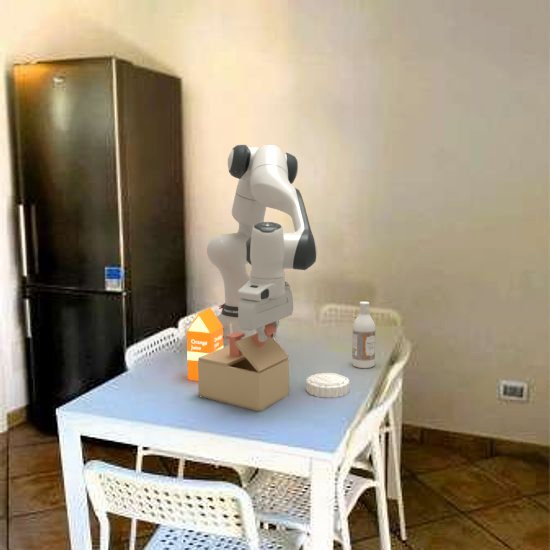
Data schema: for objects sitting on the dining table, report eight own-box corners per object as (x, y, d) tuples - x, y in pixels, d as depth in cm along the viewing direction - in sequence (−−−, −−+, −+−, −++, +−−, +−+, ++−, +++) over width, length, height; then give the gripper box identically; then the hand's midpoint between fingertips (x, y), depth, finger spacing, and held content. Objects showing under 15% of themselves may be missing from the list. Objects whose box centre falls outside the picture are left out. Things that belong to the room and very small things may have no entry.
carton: (198, 396, 165) (197, 360, 164) (230, 381, 177) (229, 348, 175) (259, 411, 154) (259, 373, 153) (289, 394, 166) (288, 359, 164)
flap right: (234, 343, 156) (247, 326, 153) (264, 331, 167) (277, 315, 164) (258, 372, 153) (272, 355, 150) (287, 358, 164) (301, 342, 161)
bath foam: (362, 370, 186) (363, 305, 183) (347, 364, 192) (348, 301, 188) (379, 366, 190) (380, 302, 186) (364, 360, 195) (365, 299, 192)
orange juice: (224, 372, 184) (222, 308, 181) (211, 382, 176) (210, 314, 173) (200, 370, 187) (198, 306, 184) (187, 379, 179) (185, 312, 175)
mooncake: (358, 393, 168) (358, 380, 167) (323, 401, 161) (323, 388, 161) (331, 380, 178) (331, 368, 177) (297, 388, 171) (297, 376, 171)
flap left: (198, 360, 164) (197, 336, 163) (229, 348, 175) (229, 325, 174) (227, 366, 158) (226, 341, 157) (257, 353, 170) (257, 330, 168)
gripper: (279, 278, 166) (279, 328, 169) (233, 292, 149) (234, 346, 152) (299, 281, 163) (298, 331, 165) (254, 295, 146) (254, 351, 149)
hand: (267, 339), depth 159 cm, fingers closed on flap right, 3 cm apart
